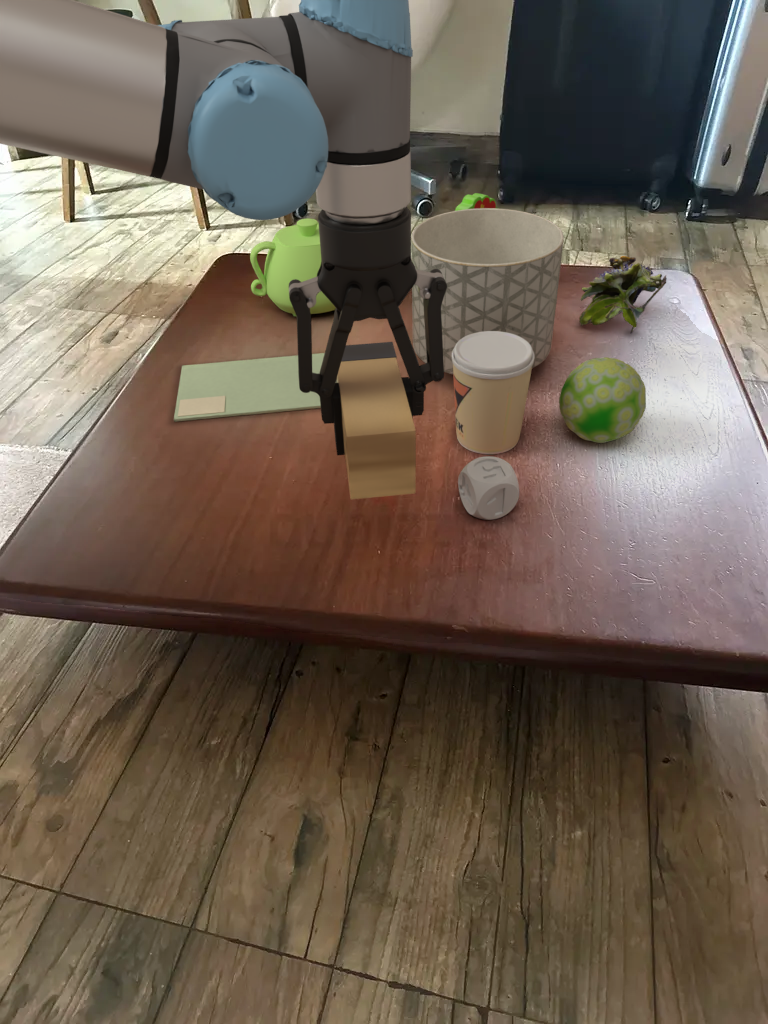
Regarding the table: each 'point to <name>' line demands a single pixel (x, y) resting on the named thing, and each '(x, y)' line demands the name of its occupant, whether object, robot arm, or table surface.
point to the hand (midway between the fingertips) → (373, 443)
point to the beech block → (376, 423)
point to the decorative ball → (602, 399)
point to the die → (488, 487)
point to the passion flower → (620, 292)
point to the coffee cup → (490, 389)
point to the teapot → (290, 264)
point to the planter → (489, 276)
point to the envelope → (243, 388)
